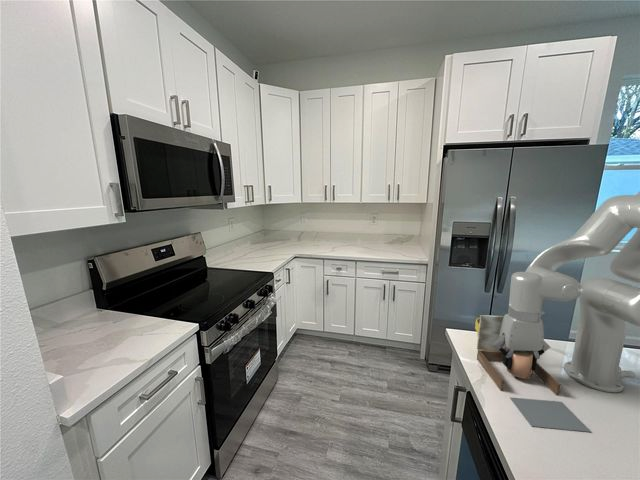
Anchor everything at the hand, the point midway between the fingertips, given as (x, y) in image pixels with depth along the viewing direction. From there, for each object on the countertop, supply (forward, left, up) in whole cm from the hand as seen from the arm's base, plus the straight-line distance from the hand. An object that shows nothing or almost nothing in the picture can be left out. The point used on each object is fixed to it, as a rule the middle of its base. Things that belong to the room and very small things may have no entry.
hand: (518, 366), depth 79 cm
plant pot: (+1, -15, -4) cm, 15 cm away
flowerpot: (0, 0, -2) cm, 2 cm away
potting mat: (+1, +14, -3) cm, 14 cm away
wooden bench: (+1, -1, -3) cm, 3 cm away
